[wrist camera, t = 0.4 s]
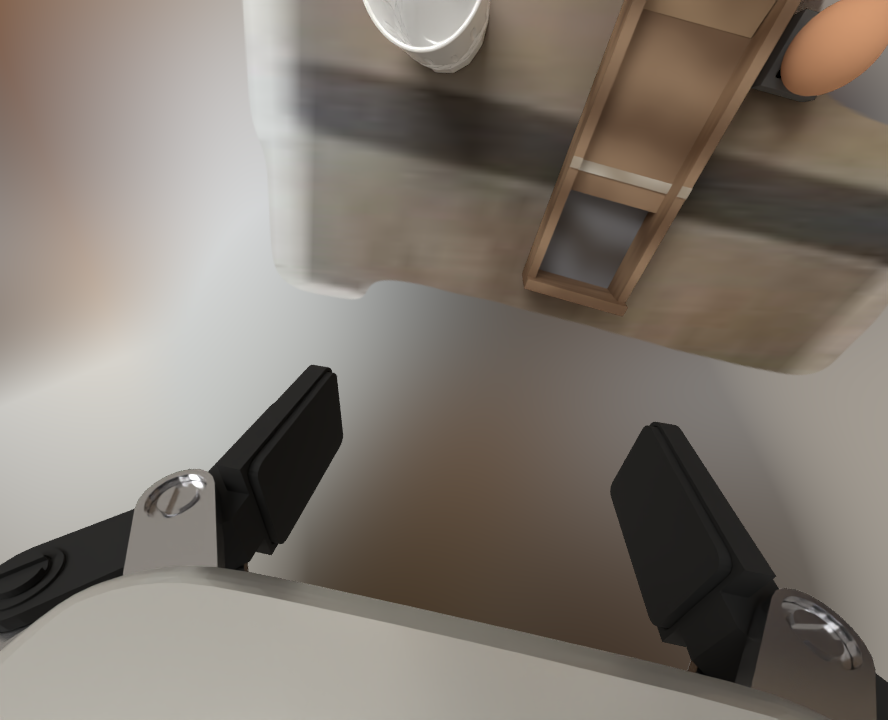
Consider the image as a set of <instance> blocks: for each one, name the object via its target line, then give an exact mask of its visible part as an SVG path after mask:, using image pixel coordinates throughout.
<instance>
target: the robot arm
mask: <svg viewBox="0 0 888 720" xmlns="http://www.w3.org/2000/svg"><path fill="white" fill-rule="evenodd" d="M342 439H343V430H342V420H341V411H340V402H339V393H338V383H337V376H336V374H335V373H332V370H331V369H330V368H328V367H323V366H317V365H310V366H309V367H308V368H307V369H306V370H305V371H304V372H303V373H302V374H301V375H300V376H299V377H298V379H297V380H296V381H295V382H294V383H293V384H292V385H291V386H290V387H289V388H288V389H287V390H286V391H285V392H284V394H282V396H281V397H280V398H279V399H278V400H277V401H276V402H275V403H274V404H272V405H271V406H270V407H269V408H268V409H267V410H266V411H265V412H264V413H263V414H262V415H261V416H260V418H259V419H258V420H257V421H256V422H255V423H254V424H253V425H252V426H251V427H250V428H249V429H248V430H247V431H246V432H245V433H244V434H243V435H242V437H241V438H240V439H239V440H238V441H237V442H236V443H235V444H234V445H233V446H232V447H231V448H230V449H229V450H228V451H227V452H226V454H225V455H224V456H223V457H222V458H221V459H220V460H219V461H218V462H217V463H216V464H215V465H214V466H213V467H212V468H211V469H210V470H209V472H207V471H204V470H201V469H188V470H183V471H179V472H176V473H173V474H171V475H168V476H166V477H164V478H162V479H161V480H159V481H157V482H156V483H154V484H153V485H152V486H151V487H149V488H148V489H147V490H146V491H145V492H144V493H143V494H142V496H141V497H140V498H139V500H138V502H137V504H136V507H135V509H133V510H130V511H128V512H125V513H122V514H120V515H117V516H114V517H112V518H109V519H107V520H104V521H101V522H99V523H96V524H93V525H91V526H88V527H85V528H83V529H80V530H78V531H75V532H72V533H70V534H67V535H64V536H62V537H59V538H56V539H54V540H51V541H49V542H46V543H44V544H41V545H38V546H36V547H33V548H31V549H29V550H26V551H24V552H22V553H20V554H18V555H16V556H14V557H13V558H11V559H9V560H8V561H6V562H5V563H3V564H1V565H0V720H888V682H886V681H885V680H884V679H883V678H881V677H880V676H879V675H877V674H876V672H875V666H874V662H873V658H872V656H871V654H870V652H869V650H868V649H867V647H866V645H865V643H864V642H863V641H862V639H861V638H860V637H859V636H858V634H857V633H856V632H855V631H854V629H853V628H852V627H851V626H850V625H849V624H848V623H847V622H846V621H845V620H844V619H843V618H842V617H840V616H839V615H838V614H837V613H836V612H835V611H833V610H832V609H831V608H829V607H828V606H827V605H825V604H824V603H822V602H821V601H819V600H817V599H816V598H814V597H812V596H810V595H809V594H806V593H804V592H801V591H798V590H796V589H790V588H782V589H779V588H778V587H777V585H776V584H775V582H774V580H773V579H774V578H775V577H776V575H775V574H774V572H773V571H772V569H771V568H770V566H769V564H768V563H767V561H766V560H765V558H764V557H763V555H762V554H761V552H760V551H759V549H758V548H757V546H756V544H755V543H754V541H753V540H752V538H751V537H750V535H749V534H748V532H747V531H746V529H745V528H744V526H743V525H742V523H741V521H740V520H739V518H738V517H737V515H736V514H735V512H734V511H733V509H732V508H731V506H730V504H729V503H728V501H727V500H726V498H725V497H724V495H723V494H722V492H721V491H720V489H719V488H718V486H717V485H716V483H715V481H714V480H713V478H712V477H711V475H710V474H709V472H708V471H707V469H706V467H705V466H704V464H703V463H702V461H701V460H700V458H699V457H698V455H697V454H696V452H695V451H694V449H693V447H692V446H691V444H690V443H689V441H688V440H687V438H686V437H685V435H684V434H683V432H682V431H681V429H680V428H679V427H678V426H676V425H672V424H665V423H660V422H653V423H651V424H650V426H645V427H644V428H643V429H642V431H641V433H640V434H639V436H638V438H637V440H636V442H635V443H634V445H633V447H632V449H631V450H630V452H629V454H628V456H627V458H626V459H625V461H624V463H623V465H622V466H621V468H620V470H619V472H618V474H617V475H616V477H615V479H614V481H613V482H612V485H611V491H610V492H611V498H612V501H613V504H614V507H615V510H616V514H617V517H618V520H619V523H620V527H621V530H622V533H623V536H624V539H625V543H626V546H627V549H628V552H629V555H630V558H631V562H632V565H633V568H634V571H635V574H636V577H637V581H638V584H639V587H640V590H641V593H642V597H643V600H644V603H645V606H646V609H647V612H648V616H649V618H650V620H651V622H652V623H653V624H654V625H655V626H657V627H658V630H659V633H660V636H661V639H662V642H666V643H670V644H675V645H679V646H684V647H687V650H688V652H689V655H690V658H691V662H690V664H689V667H688V670H687V671H685V670H681V669H677V668H673V667H669V666H665V665H661V664H657V663H653V662H649V661H645V660H640V659H636V658H632V657H628V656H623V655H619V654H615V653H610V652H606V651H602V650H597V649H593V648H589V647H585V646H580V645H576V644H571V643H567V642H563V641H559V640H554V639H550V638H546V637H542V636H537V635H533V634H528V633H524V632H520V631H515V630H511V629H507V628H502V627H498V626H493V625H489V624H485V623H480V622H476V621H471V620H467V619H463V618H458V617H454V616H449V615H445V614H440V613H436V612H432V611H427V610H423V609H418V608H414V607H410V606H405V605H401V604H396V603H391V602H387V601H383V600H378V599H373V598H369V597H364V596H360V595H356V594H351V593H346V592H342V591H337V590H333V589H328V588H323V587H319V586H315V585H310V584H306V583H301V582H296V581H290V580H286V579H281V578H276V577H271V576H266V575H261V574H256V573H251V572H249V571H248V562H249V561H250V560H251V559H252V557H253V555H254V554H255V552H260V553H264V554H268V555H272V554H273V552H274V550H275V548H276V547H277V545H278V544H283V543H284V542H285V541H286V539H287V538H288V536H289V534H290V533H291V531H292V529H293V528H294V525H295V524H296V522H297V521H298V519H299V517H300V515H301V514H302V512H303V510H304V508H305V507H306V505H307V503H308V501H309V500H310V498H311V496H312V494H313V493H314V491H315V489H316V487H317V486H318V484H319V482H320V480H321V479H322V477H323V475H324V473H325V472H326V470H327V468H328V466H329V464H330V463H331V461H332V459H333V457H334V456H335V454H336V452H337V451H338V449H339V447H340V445H341V443H342Z"/></svg>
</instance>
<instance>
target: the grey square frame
mask: <svg viewBox="0 0 888 720" xmlns="http://www.w3.org/2000/svg"><path fill="white" fill-rule="evenodd" d="M819 13H820V12H816V11H812V10H809V9H805V10H803V11H801V12H799V13H797V14H795V15H793V17H792V18H791V20H790V22H789V24H788V25H787V27H786V29H785V30H784V32H783V34H782V36H781V37H780V39H779V41H778V42H777V44H776V46H775V48H774V49H773V51H772V53H771V54H770V56H769V58H768V60H767V61H766V63H765V65H764V66H763V68H762V70H761V72H760V73H759V75H758V77H757V78H756V80H755V82H754V84H753V85H752V87H751V88H753V89H756V90H760V91H764V92H767V93H771V94H774V95H778V96H782V97H785V98H789V99H793V100H796V101H800V102H806V101H811V100H815V98H816V97H817V95H816V96H801V95H796V94H794V93H792V92H790V91H789V90H788V89H787V88H786V87H785V86H784V84H783V82H782V79H779V78H775V76H776V74H777V72H778V71H779V69H780V67H781V64H782V60H783V57H784V55H785V52H786V50H787V48H788V47H789V45H790V43H791V42H792V40H793V39H794V37H795V36H796V35H797V33H798V32H799V31H800V30H801V29H802V28H803V27H804V26H805V25H806V24H807V23H808V22H809V21H810V20H811V19H812V18H813V17H815V16H816V15H817V14H819Z"/></svg>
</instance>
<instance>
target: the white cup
mask: <svg viewBox="0 0 888 720" xmlns="http://www.w3.org/2000/svg"><path fill="white" fill-rule="evenodd" d="M363 2H364V5H365V7H366V9H367V12H368V14H369V15H370V17H371V19H372V21H373V22H374V24H375V25H376V27H377V28H378V29H379V30H380V32H381V33H382V34H383V35H384V36H385V37H386V38H387V39H388V40H390V41H391V42H392V43H393V44H395V45H396V46H397V47H399V48H400V49H401V50H402V51H404V52H405V53H406V54H408V55H409V56H410V57H411V58H413V59H414V60H415V61H417V62H419V63H420V64H422V65H424V66H426V67H429V68H430V69H432V70H433V71H434V72H437V73H454V72H456V71H458V70H459V69H461V68H463V67H465V66H466V65H468V64H470V62H471V61H472V59H473V58H474V56H475V55H476V54H477V52H478V51H479V49H480V48H481V46H482V44H483V40H484V36H485V32H486V29H487V25H488V21H489V8H490V0H363Z"/></svg>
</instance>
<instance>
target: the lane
mask: <svg viewBox="0 0 888 720" xmlns="http://www.w3.org/2000/svg"><path fill="white" fill-rule="evenodd" d="M800 2H801V0H624V2H623V5H622V8H621V10H620V13H619V16H618V18H617V21H616V24H615V26H614V29H613V32H612V34H611V37H610V40H609V42H608V45H607V48H606V50H605V53H604V56H603V58H602V61H601V64H600V66H599V69H598V72H597V75H596V77H595V80H594V83H593V85H592V88H591V91H590V93H589V96H588V99H587V101H586V104H585V107H584V109H583V112H582V115H581V117H580V120H579V123H578V125H577V128H576V131H575V133H574V136H573V139H572V141H571V144H570V147H569V149H568V152H567V155H566V157H565V160H564V163H563V165H562V168H561V171H560V174H559V176H558V179H557V182H556V184H555V187H554V190H553V192H552V195H551V198H550V200H549V203H548V206H547V208H546V211H545V214H544V216H543V219H542V222H541V224H540V227H539V230H538V232H537V235H536V238H535V240H534V243H533V246H532V248H531V251H530V254H529V256H528V259H527V262H526V264H525V267H524V270H523V273H522V276H523V283H524V289H527V290H531V291H534V292H538V293H542V294H545V295H549V296H552V297H556V298H559V299H563V300H566V301H570V302H573V303H577V304H580V305H584V306H587V307H591V308H594V309H598V310H601V311H605V312H608V313H612V314H616V315H619V316H623V315H624V313H625V312H626V310H627V308H628V307H627V305H626V304H625V302H626V301H627V299H628V297H629V296H630V294H631V292H632V290H633V289H634V287H635V285H636V284H637V282H638V280H639V278H640V277H641V275H642V273H643V272H644V270H645V268H646V266H647V265H648V263H649V261H650V260H651V258H652V256H653V254H654V253H655V251H656V249H657V248H658V246H659V244H660V242H661V241H662V239H663V237H664V236H665V234H666V232H667V230H668V229H669V227H670V225H671V224H672V222H673V220H674V218H675V217H676V215H677V213H678V211H679V210H680V208H681V206H682V205H683V203H684V201H685V199H687V197H688V196H689V194H690V192H691V191H692V187H693V186H694V184H695V182H696V181H697V179H698V177H699V175H700V174H701V172H702V170H703V169H704V167H705V165H706V163H707V162H708V160H709V158H710V157H711V155H712V153H713V151H714V150H715V148H716V146H717V145H718V143H719V141H720V139H721V138H722V136H723V134H724V133H725V131H726V129H727V127H728V126H729V124H730V122H731V121H732V119H733V117H734V115H735V114H736V112H737V110H738V109H739V107H740V105H741V103H742V102H743V100H744V98H745V97H746V95H747V93H748V91H749V90H750V88H751V86H752V84H753V83H754V81H755V79H756V78H757V76H758V74H759V72H760V71H761V69H762V67H763V66H764V64H765V62H766V60H767V59H768V57H769V55H770V54H771V52H772V50H773V48H774V47H775V45H776V43H777V42H778V40H779V38H780V36H781V35H782V33H783V31H784V30H785V28H786V26H787V24H788V23H789V21H790V19H791V18H792V16H793V14H794V12H795V11H796V9H797V7H798V6H799V4H800Z"/></svg>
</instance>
